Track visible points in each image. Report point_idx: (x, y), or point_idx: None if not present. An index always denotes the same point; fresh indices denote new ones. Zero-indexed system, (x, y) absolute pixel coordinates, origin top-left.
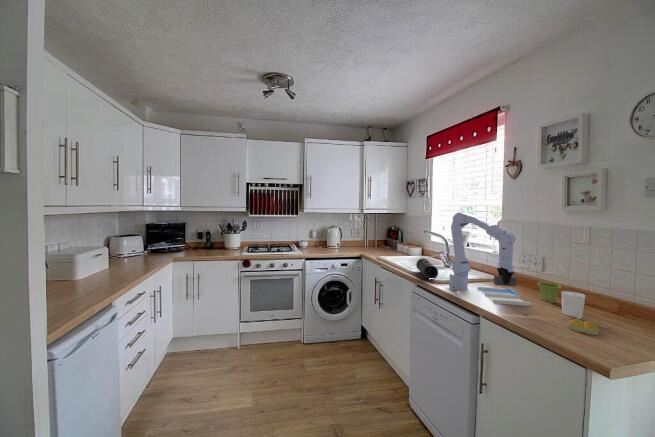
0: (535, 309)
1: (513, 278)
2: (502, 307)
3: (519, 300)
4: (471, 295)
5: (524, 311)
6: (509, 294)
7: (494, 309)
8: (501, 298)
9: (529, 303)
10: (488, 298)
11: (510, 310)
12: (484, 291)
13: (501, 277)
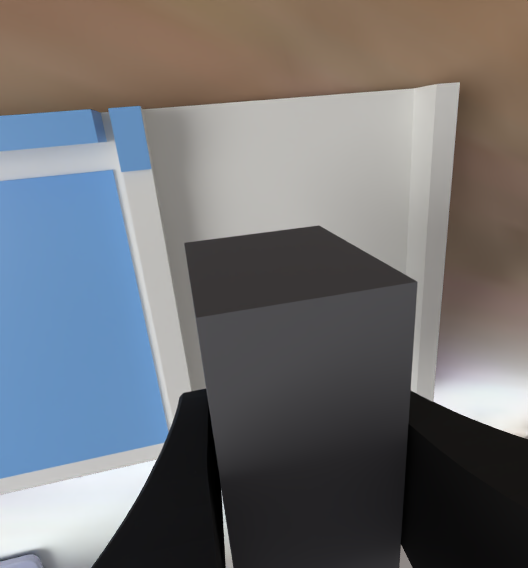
0: (454, 51)
1: (396, 341)
2: (448, 337)
3: (254, 143)
4: None
5: (520, 189)
6: (152, 238)
7: (500, 392)
8: None
9: (451, 98)
10: None
11: (508, 293)
12: (12, 456)
13: (389, 555)
